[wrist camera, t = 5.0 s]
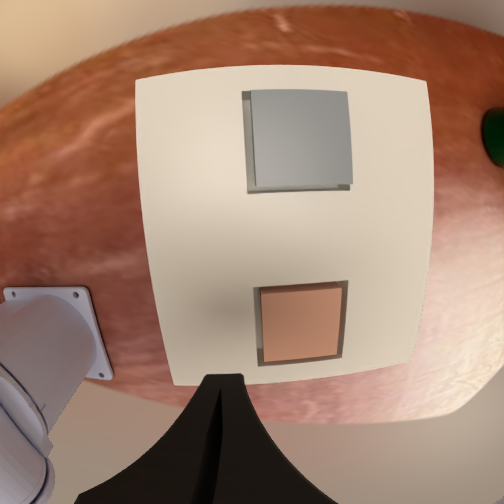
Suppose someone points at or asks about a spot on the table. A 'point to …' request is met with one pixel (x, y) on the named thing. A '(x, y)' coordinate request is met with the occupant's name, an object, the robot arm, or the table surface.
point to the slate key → (301, 137)
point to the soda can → (495, 134)
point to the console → (282, 220)
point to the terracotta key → (300, 320)
